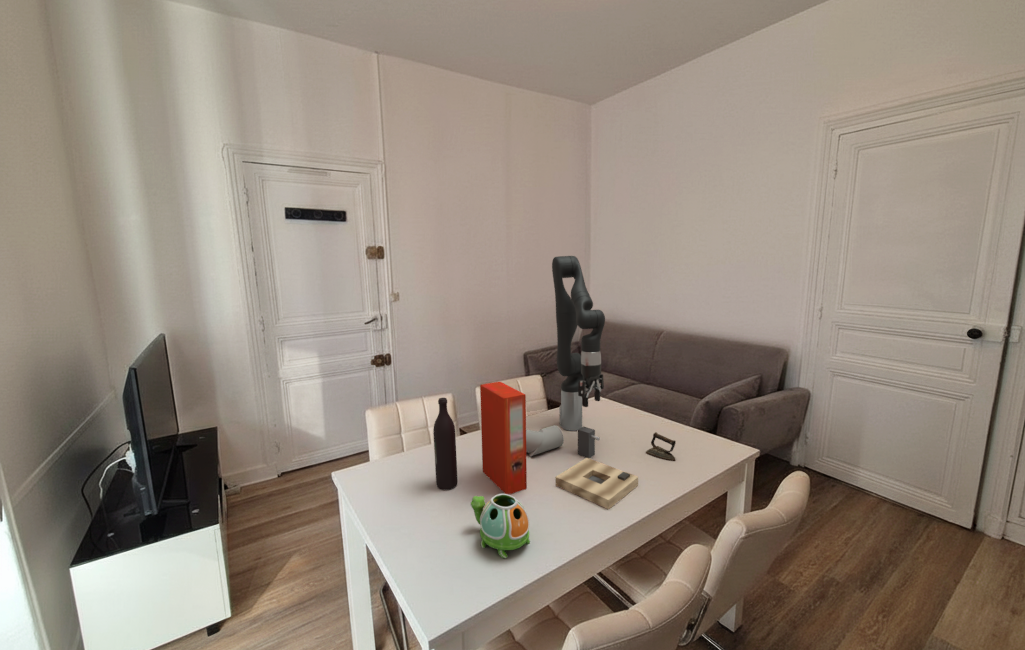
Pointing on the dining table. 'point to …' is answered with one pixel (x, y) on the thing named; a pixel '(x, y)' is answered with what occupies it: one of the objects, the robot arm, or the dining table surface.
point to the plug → (586, 442)
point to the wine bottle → (445, 449)
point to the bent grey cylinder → (543, 440)
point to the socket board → (597, 482)
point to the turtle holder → (501, 522)
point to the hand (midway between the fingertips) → (591, 403)
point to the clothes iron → (659, 451)
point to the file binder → (504, 436)
